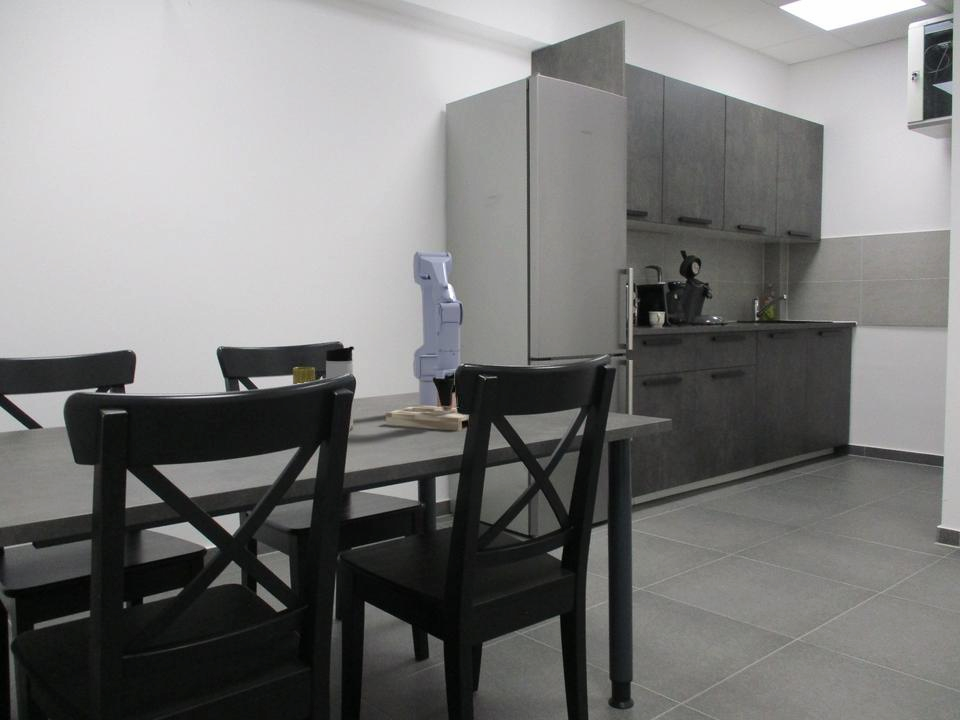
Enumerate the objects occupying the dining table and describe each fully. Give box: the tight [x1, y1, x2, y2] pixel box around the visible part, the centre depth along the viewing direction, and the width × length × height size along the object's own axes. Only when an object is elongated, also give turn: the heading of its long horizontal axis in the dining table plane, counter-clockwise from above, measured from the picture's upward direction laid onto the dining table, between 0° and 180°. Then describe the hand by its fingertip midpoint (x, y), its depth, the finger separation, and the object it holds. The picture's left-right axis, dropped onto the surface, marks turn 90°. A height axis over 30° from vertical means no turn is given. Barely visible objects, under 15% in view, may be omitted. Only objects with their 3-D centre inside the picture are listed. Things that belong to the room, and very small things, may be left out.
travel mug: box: [325, 346, 355, 432], centre depth 191 cm, size 6×7×20 cm
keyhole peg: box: [437, 392, 457, 414], centre depth 201 cm, size 5×5×8 cm
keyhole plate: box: [385, 404, 469, 432], centre depth 203 cm, size 16×20×3 cm
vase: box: [292, 366, 316, 385], centre depth 198 cm, size 6×6×14 cm
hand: (448, 404), depth 201 cm, fingers open, 5 cm apart
